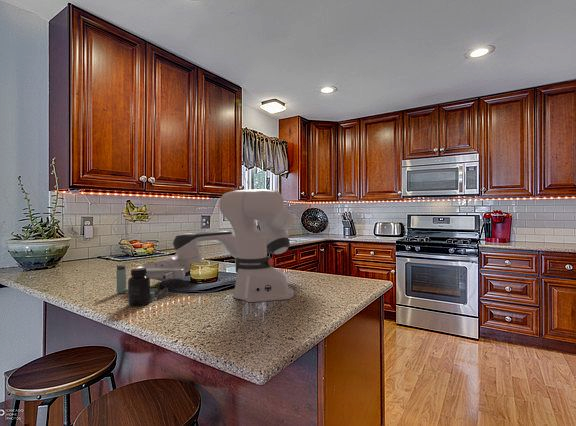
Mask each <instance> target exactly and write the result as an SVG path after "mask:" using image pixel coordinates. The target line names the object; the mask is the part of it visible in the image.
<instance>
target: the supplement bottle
mask: <svg viewBox="0 0 576 426" xmlns="http://www.w3.org/2000/svg"><path fill="white" fill-rule="evenodd" d="M135 268H136V269H135ZM135 268H132V269H131V270H130V277H129V278H128V280H127V289H128V292H127V293H128V294H127V297H128V306H130V307H144V306H147V305H149V304H150V302H151V300H150V288H151V279H150V278H149V277H148V276H146V274H147V272H146V268H137V267H135Z"/></svg>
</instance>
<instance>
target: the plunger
mask: <svg viewBox="0 0 576 426" xmlns="http://www.w3.org/2000/svg"><path fill="white" fill-rule="evenodd" d="M126 269H127V268H126V265H124V264H122V265H117V266H116V270H115V272H116V273H115V274H116V294H124V293H128V288H127V270H126ZM158 290H159V289H158V287H157V288H155V287H153V288H151V287H150V301H154V300H155V298H156V297H155V296H156V293H158V292H159V291H158Z"/></svg>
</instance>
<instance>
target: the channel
mask: <svg viewBox="0 0 576 426" xmlns="http://www.w3.org/2000/svg"><path fill="white" fill-rule="evenodd" d="M156 293H157V294H156V296H157V297H156V298H157V300H160V299H162V298H164V297H165V296H166V295H167V294H169V287H164V288H162V289H161V290H160V291H157V292H156Z"/></svg>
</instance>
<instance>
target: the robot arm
mask: <svg viewBox="0 0 576 426" xmlns="http://www.w3.org/2000/svg"><path fill="white" fill-rule="evenodd" d="M218 203H219V205H218V207H219V211H220V212H221V215H222V216H224V217H225V218H226V219H227V220H228V221H229V223H230V225H231V227H232V229H233V232H234V233H233V232H232V231H229V230H219V231H218V230H217V231H216V230H215V231H206V232H197V233H194V232H183V233H179V234H178V235H176V236H175V238H174V239H173V241H172V245H173V247H174V250H175V253H176V255H170V256H168V257H165V258H163V259H160V260H156V261H150V262H144V263H143V264H142V265H139V266H137V267H135V268H134V269H136V268H146V272H147V274H146V276H148V277H149V278H150V280H156V281H160V282H168V281H169V280H171V279H176V280H177V279H184V278H185V277H189V276H191V275H190V264H191V263H194V262H200V261H202V262H203V259H202V256H201V252H200V249H199V245H198V244H199V243H200V242H208V241H218V242H220V243H221V244H222V246H224V248H225V250H226V251H227V252H228V254H229V255H230V256H232V257H233V258H234V259H235V261H234V262H235V263H234V265H235V267H234V268H235V273H236V275H235V276H236V277H235V285H234V290H233V294H232V296H233V298H235V299H237V300H243V301H245V302H248V303H258V302H266V301H267V302H268V301H281V300H292V298H293V297H294V296H295V293H294V292H295V291H294V288H291V287H289V285H288V280H287V277H286V276H285V275H284V274H283V273H282V272H280V271H279V270H277V268H275V267H274V266H273V265H274V259H273V258H272V257H270V256H268V253H269V254H272V255H280V254H283V253H285V252H286V251H288V250H289V248H290V246H291V243H290V239H289V237H288V233H287V230H290V229H291V228H292V226H293V225H294V221H295V219H294V215H293V213H292V212H291V211H290V210H289V208H287V207H286V206H285V201H284V197H283V195H282V194H281V192H280V191H277V190H272V189H264V188H263V189H239V190H238V189H236V190H233V191H228V192H225V193H223V194H222V196H221V197H220V200H219V202H218ZM255 221H257V224H258V226H259V228H258V227H257V225H256V223H255Z"/></svg>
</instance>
